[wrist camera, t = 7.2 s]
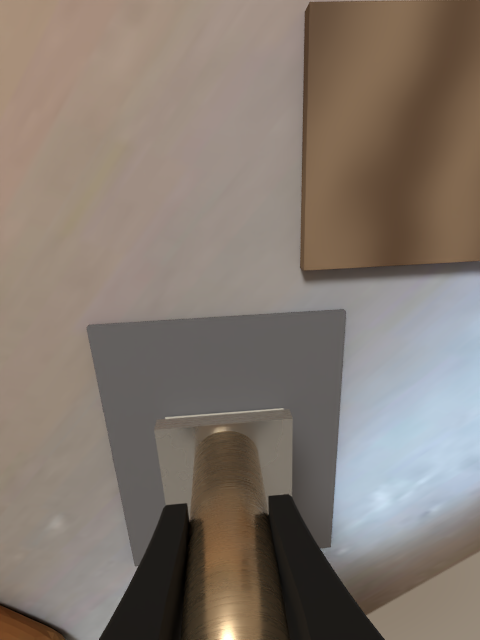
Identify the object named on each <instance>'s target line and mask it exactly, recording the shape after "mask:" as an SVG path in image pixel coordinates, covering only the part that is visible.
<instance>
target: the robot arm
mask: <svg viewBox="0 0 480 640" xmlns="http://www.w3.org/2000/svg"><path fill="white" fill-rule="evenodd" d="M268 508H269V520H270V526H271V532H272V538H273V544H274V549H275V554H276V560H277V566H278V572H279V577H280V583H281V589H282V595H283V601H284V606H285V612H286V618H287V624H288V630H289V636H290V640H385V639H384V638H383V637H382V636H381V634H380V633H379V632H378V630H377V629H376V628H375V627H374V625H373V624H372V623H371V622H370V620H369V619H368V618H367V616H366V615H365V614H364V612H363V611H362V610H361V608H360V607H359V606H358V604H357V603H356V602H355V600H354V599H353V597H352V596H351V595H350V593H349V592H348V590H347V589H346V587H345V586H344V585H343V583H342V582H341V580H340V579H339V577H338V576H337V574H336V573H335V571H334V570H333V568H332V567H331V565H330V564H329V562H328V561H327V559H326V557H325V556H324V554H323V553H322V551H321V550H320V548H319V546H318V545H317V543H316V541H315V540H314V538H313V536H312V535H311V533H310V531H309V529H308V528H307V526H306V524H305V522H304V520H303V518H302V517H301V515H300V513H299V511H298V509H297V507H296V505H295V502H294V500H293V498H292V496H290V495H289V494H283V495H272V496H268ZM189 524H190V522H189V513H188V505H187V503H182V504H171V505H166V506H165V507H164V508H163V510H162V513H161V516H160V519H159V521H158V524H157V526H156V529H155V531H154V534H153V536H152V538H151V540H150V543H149V545H148V547H147V549H146V552H145V554H144V556H143V558H142V560H141V562H140V564H139V566H138V568H137V570H136V572H135V574H134V576H133V578H132V580H131V582H130V584H129V586H128V588H127V590H126V592H125V594H124V596H123V597H122V599H121V601H120V603H119V605H118V607H117V608H116V610H115V612H114V614H113V616H112V618H111V619H110V621H109V623H108V625H107V626H106V628H105V630H104V632H103V633H102V635H101V637H100V638H99V640H181V628H182V615H183V601H184V588H185V575H186V562H187V550H188V537H189Z"/></svg>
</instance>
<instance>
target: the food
mask: <svg viewBox="0 0 480 640" xmlns="http://www.w3.org/2000/svg"><path fill="white" fill-rule="evenodd" d="M0 640H65V638H64V637H63V636H62V634H60V633H58V632H57V631H55V630H53V629H51V628H50V627H48V626H46V625H43V624H41V623H39V622H36V621H34V620H32V619H30V618H27V617H25V616H23V615H21V614H19V613H17V612H14V611H12V610H10V609H8V608H5V607H3V606H1V605H0Z"/></svg>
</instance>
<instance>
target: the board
mask: <svg viewBox="0 0 480 640" xmlns="http://www.w3.org/2000/svg"><path fill="white" fill-rule="evenodd" d="M468 261H480V0H415V1H342V2H310V3H309V5H308V7H307V9H306V11H305V36H304V91H303V146H302V201H301V257H300V268H301V269H303V270H304V271H305V270H323V269H341V268H359V267H377V266H396V265H414V264H432V263H450V262H468Z"/></svg>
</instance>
